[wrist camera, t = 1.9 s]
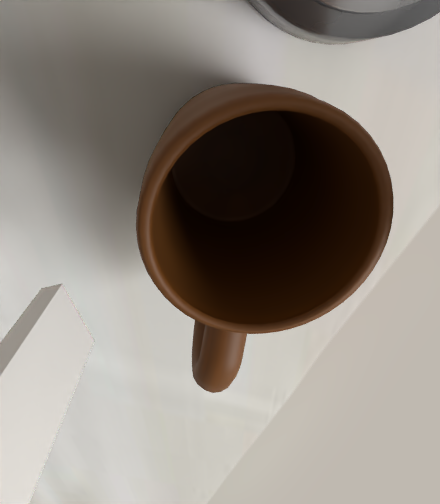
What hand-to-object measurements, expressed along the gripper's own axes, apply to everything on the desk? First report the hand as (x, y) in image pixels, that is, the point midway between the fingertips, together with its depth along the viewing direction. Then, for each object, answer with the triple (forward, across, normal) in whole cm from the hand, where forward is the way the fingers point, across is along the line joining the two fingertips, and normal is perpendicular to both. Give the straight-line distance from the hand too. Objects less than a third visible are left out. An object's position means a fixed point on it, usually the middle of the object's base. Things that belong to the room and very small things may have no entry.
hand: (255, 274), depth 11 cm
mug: (+8, -1, 0) cm, 8 cm away
